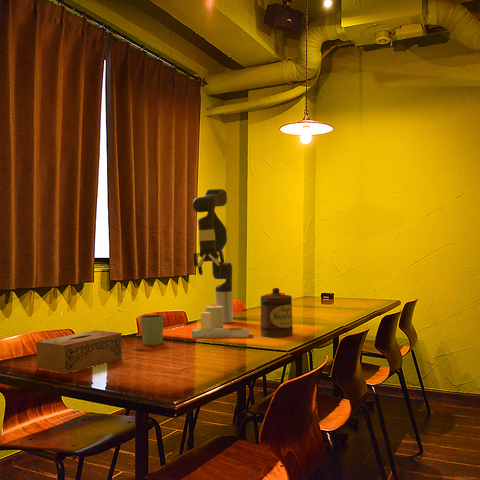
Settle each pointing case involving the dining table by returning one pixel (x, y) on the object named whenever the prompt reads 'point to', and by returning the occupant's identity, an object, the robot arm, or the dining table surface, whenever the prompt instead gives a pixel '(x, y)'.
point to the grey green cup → (152, 329)
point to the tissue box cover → (79, 351)
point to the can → (215, 316)
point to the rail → (221, 333)
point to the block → (206, 321)
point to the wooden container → (276, 315)
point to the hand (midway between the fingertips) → (209, 274)
